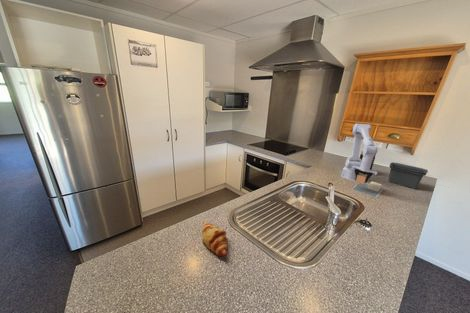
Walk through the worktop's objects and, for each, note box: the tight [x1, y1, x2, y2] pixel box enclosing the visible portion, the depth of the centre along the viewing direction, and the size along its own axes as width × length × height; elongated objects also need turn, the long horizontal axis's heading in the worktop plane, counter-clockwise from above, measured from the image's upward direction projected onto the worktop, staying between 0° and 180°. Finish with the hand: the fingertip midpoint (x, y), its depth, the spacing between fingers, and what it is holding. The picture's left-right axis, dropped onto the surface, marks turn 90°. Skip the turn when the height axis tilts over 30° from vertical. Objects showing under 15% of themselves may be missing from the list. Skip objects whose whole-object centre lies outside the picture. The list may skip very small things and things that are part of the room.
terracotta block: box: [355, 173, 367, 184], centre depth 128 cm, size 5×5×5 cm
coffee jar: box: [359, 150, 377, 175], centre depth 161 cm, size 11×11×18 cm
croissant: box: [201, 221, 228, 258], centre depth 78 cm, size 21×10×8 cm, turn 30°
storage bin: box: [388, 161, 429, 190], centre depth 143 cm, size 21×16×14 cm
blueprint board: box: [351, 181, 384, 199], centre depth 131 cm, size 15×20×5 cm
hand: (361, 180), depth 129 cm, fingers closed on terracotta block, 5 cm apart
